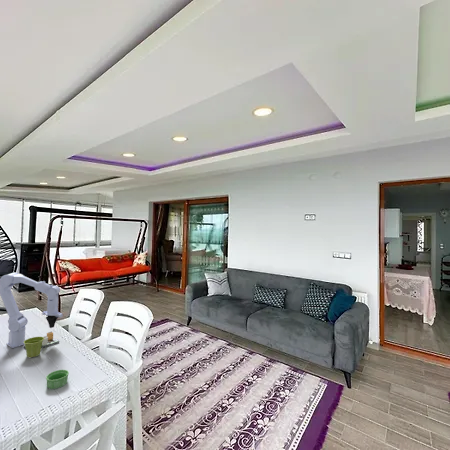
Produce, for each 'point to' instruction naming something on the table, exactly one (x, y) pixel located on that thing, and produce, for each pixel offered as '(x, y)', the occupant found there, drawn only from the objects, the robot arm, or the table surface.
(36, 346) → the plant pot
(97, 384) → the table surface
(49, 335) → the breaker orange
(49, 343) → the panel
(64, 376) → the ramekin
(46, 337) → the white breaker
